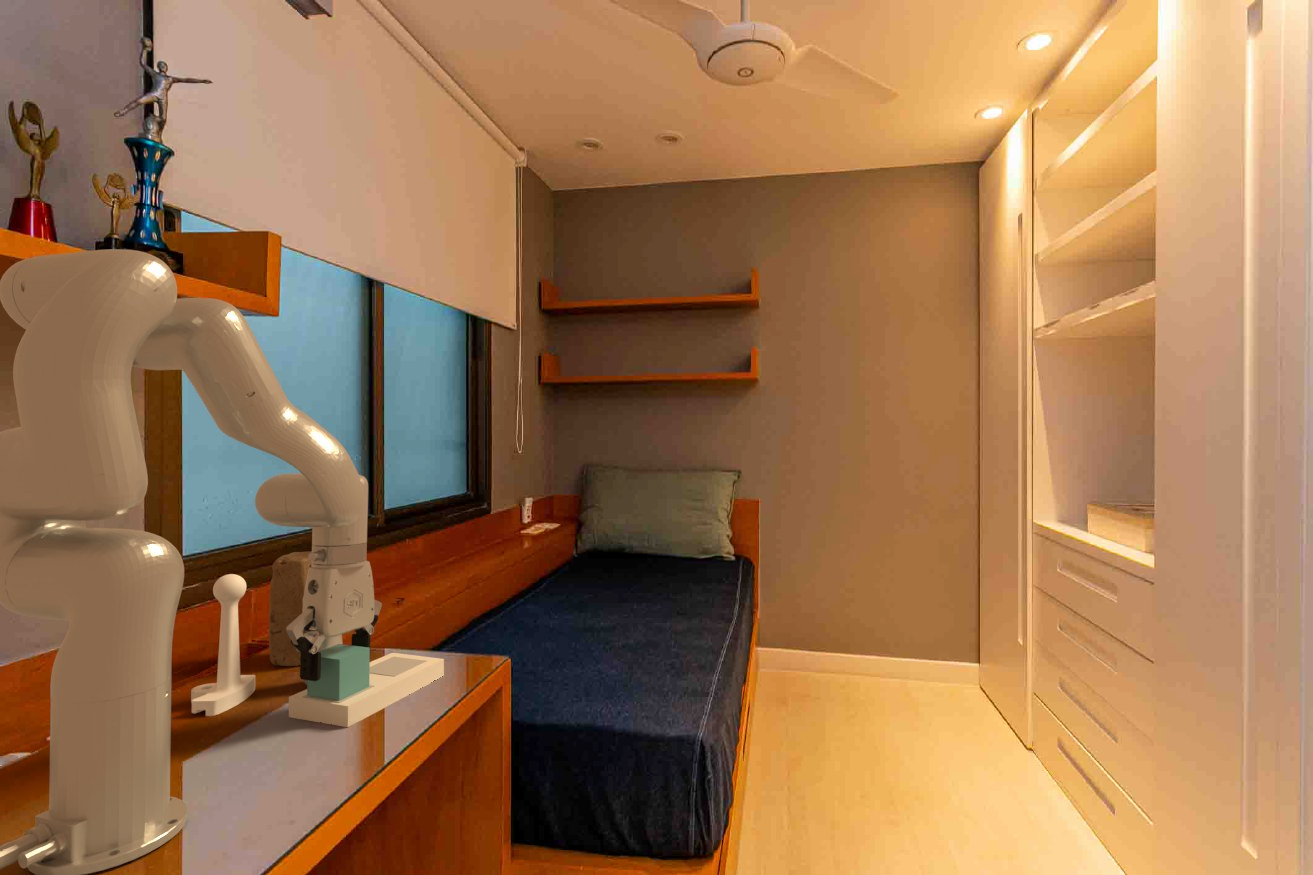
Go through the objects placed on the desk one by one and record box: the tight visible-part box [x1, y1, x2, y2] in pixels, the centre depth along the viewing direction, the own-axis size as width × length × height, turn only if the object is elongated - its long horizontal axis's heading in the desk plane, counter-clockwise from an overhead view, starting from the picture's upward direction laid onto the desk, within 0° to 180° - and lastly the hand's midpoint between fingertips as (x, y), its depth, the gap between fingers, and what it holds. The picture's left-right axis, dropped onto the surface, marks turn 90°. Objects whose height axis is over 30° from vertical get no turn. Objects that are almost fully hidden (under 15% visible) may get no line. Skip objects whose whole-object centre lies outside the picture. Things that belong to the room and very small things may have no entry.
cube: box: [306, 644, 371, 701], centre depth 99 cm, size 6×6×6 cm
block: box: [268, 550, 312, 667], centre depth 123 cm, size 11×8×20 cm
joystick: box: [190, 573, 256, 717], centre depth 103 cm, size 11×8×20 cm
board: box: [288, 652, 445, 728], centre depth 106 cm, size 22×11×3 cm, turn 162°
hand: (336, 669), depth 98 cm, fingers open, 9 cm apart
